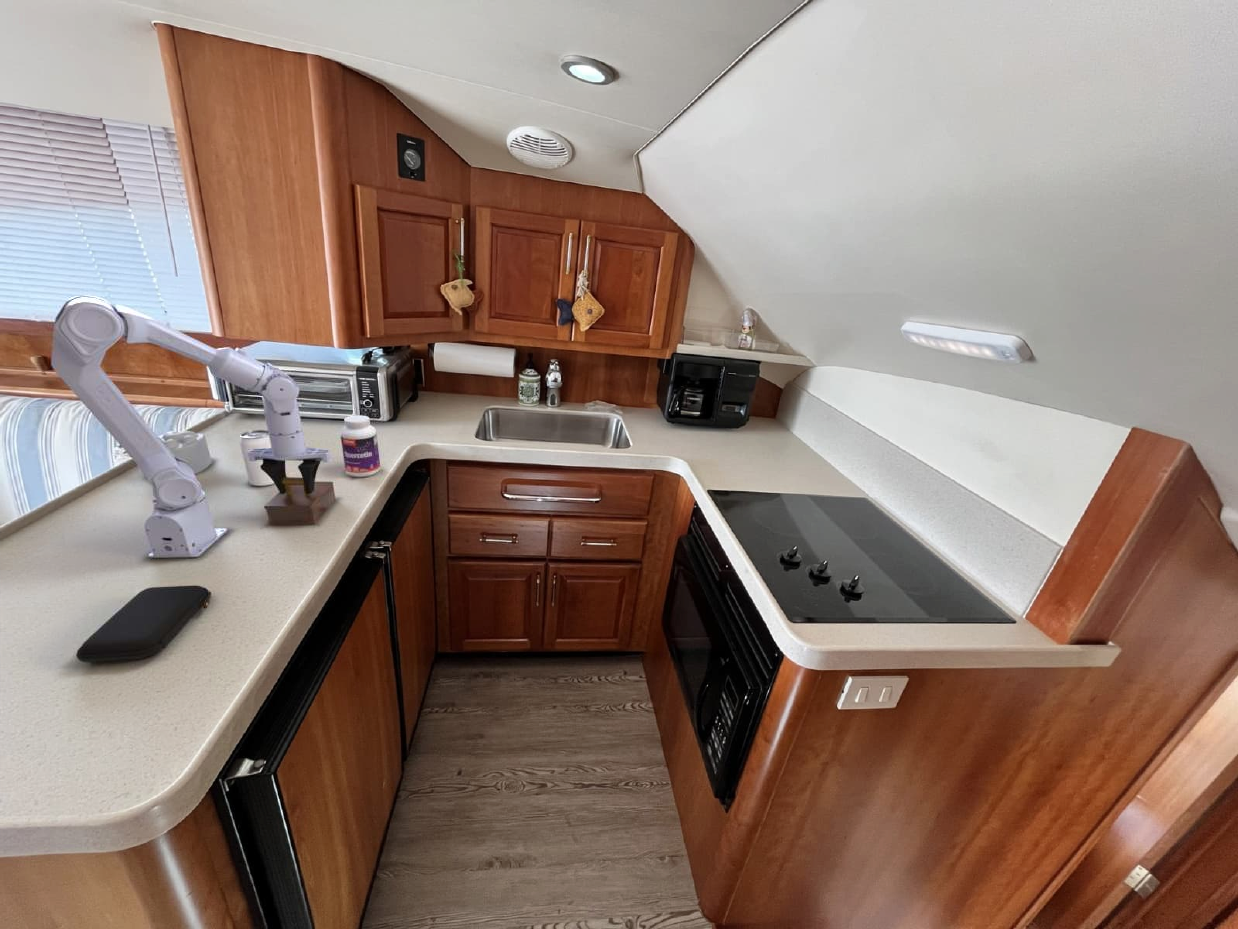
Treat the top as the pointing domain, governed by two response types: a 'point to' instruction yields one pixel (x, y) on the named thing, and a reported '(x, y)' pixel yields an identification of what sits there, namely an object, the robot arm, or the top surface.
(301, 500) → the lid
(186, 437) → the lumpy-topped squat cylinder
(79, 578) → the top surface
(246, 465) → the can
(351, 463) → the pill bottle
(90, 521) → the top surface
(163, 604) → the carrying case
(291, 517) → the keepsake box
